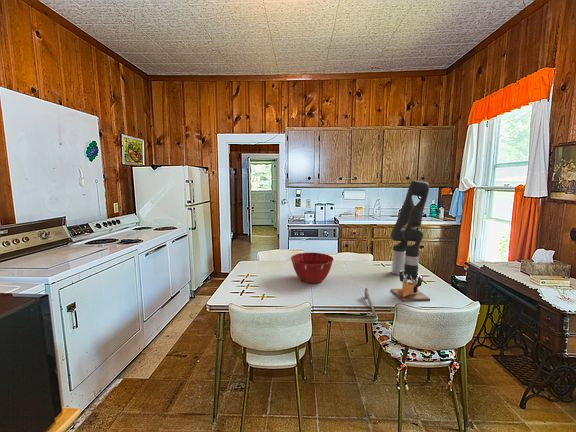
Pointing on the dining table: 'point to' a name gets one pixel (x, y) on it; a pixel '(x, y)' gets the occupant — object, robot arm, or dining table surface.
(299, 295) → the dining table surface
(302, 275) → the mixing bowl
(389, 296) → the dining table surface
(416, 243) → the robot arm
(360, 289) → the dining table surface
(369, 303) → the caliper
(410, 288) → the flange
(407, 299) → the post board
